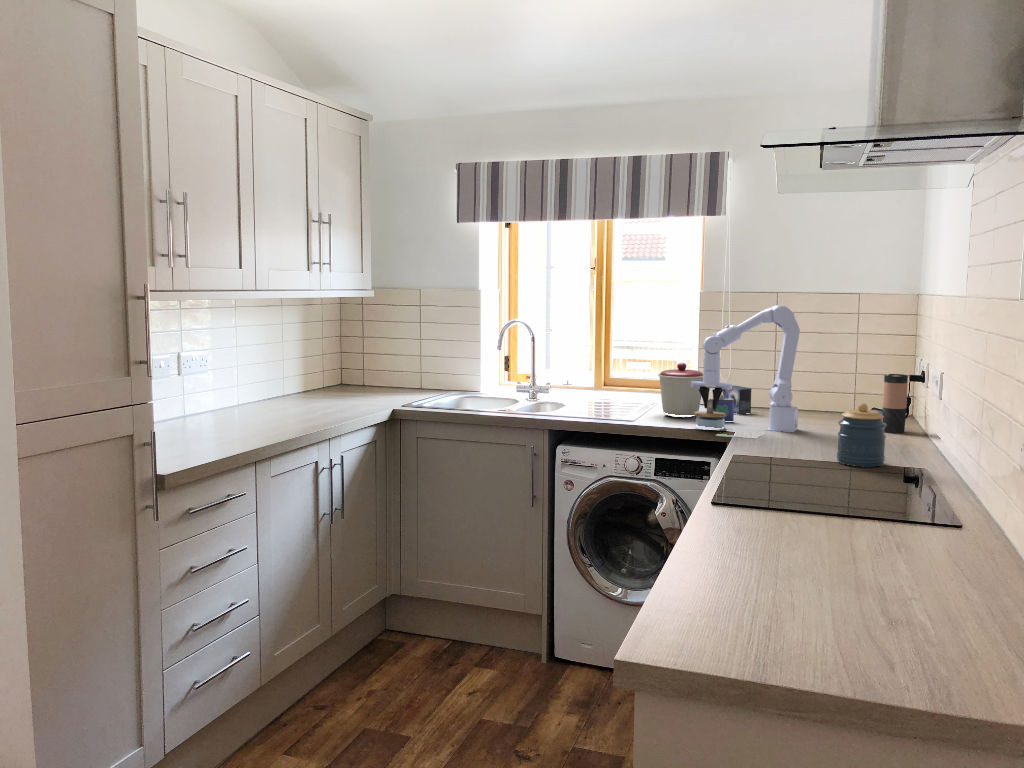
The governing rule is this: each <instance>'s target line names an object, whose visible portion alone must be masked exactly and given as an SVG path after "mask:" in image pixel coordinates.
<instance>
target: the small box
mask: <svg viewBox="0 0 1024 768" xmlns="http://www.w3.org/2000/svg"><path fill="white" fill-rule="evenodd" d="M722 394H723V395H724V399H734V413H737V414H746V413H751V414H752V387H745V386H741V385H734V384H732V389H731V390H728V389H723V392H722Z"/></svg>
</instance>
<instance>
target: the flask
mask: <svg viewBox="0 0 1024 768" xmlns="http://www.w3.org/2000/svg"><path fill="white" fill-rule="evenodd" d="M708 400H710V401H713V397H712V398H709V399H708ZM714 412H721V413H725V414H726V416H725V417H723V418H725V421H734V419H735V418H734V417H735V416H734V415H735V414H734V399H724V395H723V393H722V394H721V396H720V398H719V400H718V403H717V408H716V409H714Z"/></svg>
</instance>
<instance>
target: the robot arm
mask: <svg viewBox="0 0 1024 768" xmlns="http://www.w3.org/2000/svg"><path fill="white" fill-rule="evenodd" d="M767 323H768V324H771V323H774V324H775V325H777V326H778V327H779V328H780V329H781V331H782V332H783V333H784V334H783V339H782V345H781V351H780V357H779V362H778V366H777V373H776V378H775V380H774V382H773V386H772V387H771V388H770V390H769V398H770V400H771V402H770V403H769V416H768V418H769V419H768V420H769V422H768V427H767V428H765V431H768V430H772V431H771V432H779V431H783V432H782V433H790V432H793V433H795V432H796V431H798V430H799V427H798V426H799V425H798V423H799V408H798V407H797V406H792V403H791V402H792V400H793V392H792V386H793V385H792V376H793V371H794V365H795V360H796V354H797V348H798V344H799V343H798V342H799V338H800V330H801V329H800V327H799V324H798V322H797V319H796V317H795V313H794V312H793V311H792V310H791V309H790V308H789V307H788V306H786V305H782V304H781V305H780V304H775V305H773V306H771V307H769V308H766V309H763V310H761V311H759V312H757V313H756V314H754V315H753V316H751V317H749V318H748V319H746V320H744V321H742V322H741V323H739V324H738V325H735V324H731V325H729V324H727V325H725V326H724V329H722V330H719V331H718V332H714V333H713V336H707V337H706V338H705V339H704V341H703V343H702V348H703V351H704V352H703V367H702V368H703V369H702V370H703V372H702V373H703V382H699V381H692V382H691V387H700V389H699V392H700V394H701V400H702V401H703V407H704V409H707V401H709V399H710V398H709V397H710V396H709V395H710V390H711V389H712V392H711V393H712V398H713V409H716V408H717V403H718V400H719V398H720V396H721V394H723V389H728V390H731V389H732V386H733V383H729V382H728V383H727V382H721V374H720V372H721V352H720V351H722V348H726V347H728V346H729V345H731V344H733V343H735V342H737V341H738V340H740V339H741V336H742V334H743V333H745V332H747V331H750V330H751V329H753V328H755V327H757V326H759V325H761V324H767Z"/></svg>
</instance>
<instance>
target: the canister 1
mask: <svg viewBox="0 0 1024 768" xmlns="http://www.w3.org/2000/svg"><path fill="white" fill-rule="evenodd" d="M686 368H687V364H686V363H685V362H679V363H678V364H677V366H676V368H675V369H665V370H663V371H661V372H660V373H657V376H658V377H659V386H660V397H661V398H660V399H661V405H662V411H663V413H664V412H665V413H668V414H675V415H694V412H698V411H700V406H701V401H702V396H701V394H700V392H699V389H700V387H691V382H692V381H699V382H703V372H702V371H700V370H696V369H694V370H693V369H686Z"/></svg>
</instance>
